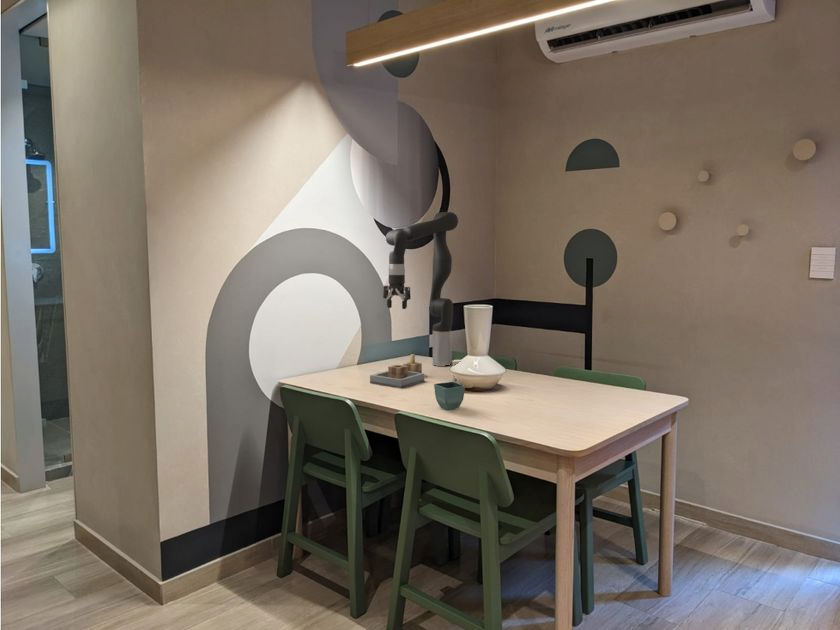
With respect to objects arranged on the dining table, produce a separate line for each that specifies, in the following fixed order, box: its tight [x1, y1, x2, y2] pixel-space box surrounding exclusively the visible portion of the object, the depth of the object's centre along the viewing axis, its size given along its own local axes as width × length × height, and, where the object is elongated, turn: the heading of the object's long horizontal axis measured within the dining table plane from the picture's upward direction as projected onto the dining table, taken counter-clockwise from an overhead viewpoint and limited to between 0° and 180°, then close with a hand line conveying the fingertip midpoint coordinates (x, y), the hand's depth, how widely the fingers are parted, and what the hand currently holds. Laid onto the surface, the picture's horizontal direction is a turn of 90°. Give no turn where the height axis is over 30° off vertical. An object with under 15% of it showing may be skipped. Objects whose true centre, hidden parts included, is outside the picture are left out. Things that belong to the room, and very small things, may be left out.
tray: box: [369, 370, 425, 389], centre depth 300 cm, size 17×17×4 cm
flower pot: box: [433, 381, 466, 411], centre depth 255 cm, size 9×9×9 cm
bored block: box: [387, 364, 408, 379], centre depth 300 cm, size 6×6×6 cm
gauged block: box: [402, 353, 423, 373], centre depth 312 cm, size 6×6×10 cm
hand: (396, 308), depth 319 cm, fingers open, 8 cm apart
